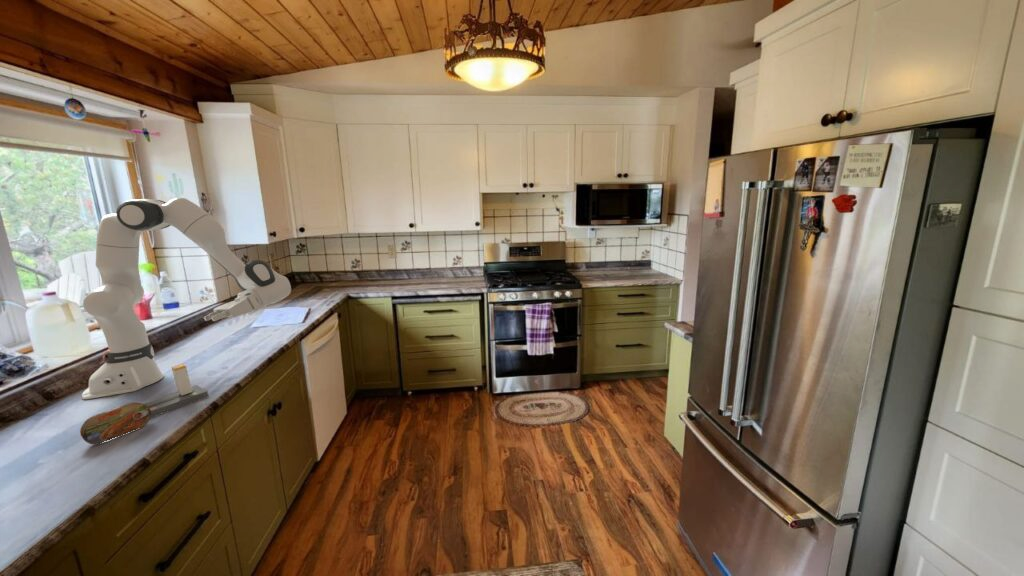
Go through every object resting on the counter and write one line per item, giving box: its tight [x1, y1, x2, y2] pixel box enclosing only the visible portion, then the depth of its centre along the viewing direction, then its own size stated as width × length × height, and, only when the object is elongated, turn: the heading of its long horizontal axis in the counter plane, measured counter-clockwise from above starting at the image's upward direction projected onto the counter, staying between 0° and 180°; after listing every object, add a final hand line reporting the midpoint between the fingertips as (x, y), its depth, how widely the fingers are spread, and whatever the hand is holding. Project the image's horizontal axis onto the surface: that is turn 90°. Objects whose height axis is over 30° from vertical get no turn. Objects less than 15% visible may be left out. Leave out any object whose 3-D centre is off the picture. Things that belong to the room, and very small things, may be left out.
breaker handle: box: [171, 363, 192, 395], centre depth 138 cm, size 3×3×10 cm
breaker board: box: [144, 384, 209, 419], centre depth 136 cm, size 18×9×2 cm, turn 146°
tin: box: [79, 401, 151, 445], centre depth 119 cm, size 15×3×8 cm, turn 148°
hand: (208, 319), depth 145 cm, fingers open, 8 cm apart
